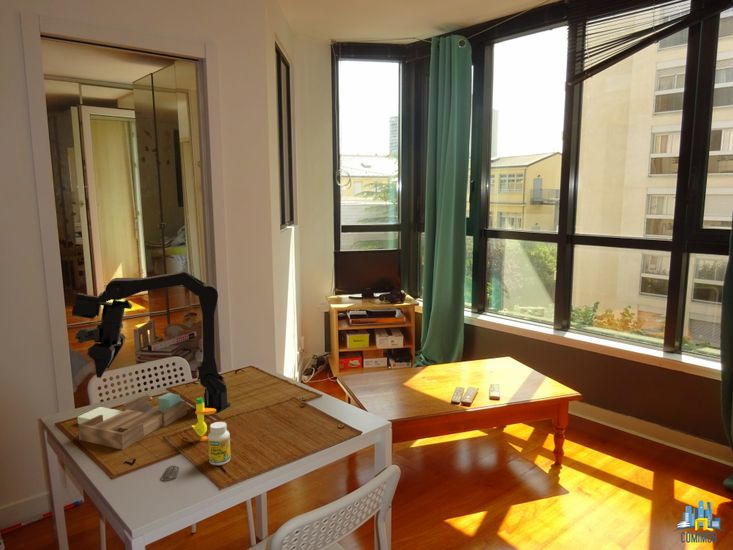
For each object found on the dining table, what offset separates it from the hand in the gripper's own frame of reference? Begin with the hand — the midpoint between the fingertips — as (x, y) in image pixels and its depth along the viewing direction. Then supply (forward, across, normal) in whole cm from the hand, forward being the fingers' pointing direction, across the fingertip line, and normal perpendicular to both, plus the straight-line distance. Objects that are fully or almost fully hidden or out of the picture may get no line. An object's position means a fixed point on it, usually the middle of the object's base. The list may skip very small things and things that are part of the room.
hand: (102, 372), depth 153 cm
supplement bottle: (+9, +31, +36) cm, 49 cm away
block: (+9, 0, +20) cm, 22 cm away
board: (+15, -1, +2) cm, 15 cm away
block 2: (+12, +36, +25) cm, 45 cm away
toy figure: (+9, +19, +32) cm, 38 cm away
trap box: (+13, +5, +12) cm, 19 cm away
